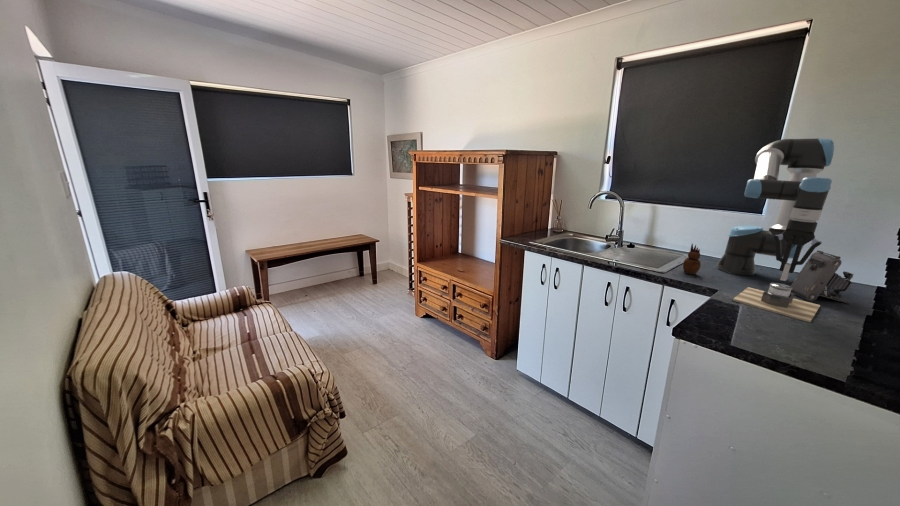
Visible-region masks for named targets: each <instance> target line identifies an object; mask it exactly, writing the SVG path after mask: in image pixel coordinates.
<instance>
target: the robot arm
mask: <svg viewBox="0 0 900 506" xmlns="http://www.w3.org/2000/svg"><path fill="white" fill-rule="evenodd" d="M834 144H835V142H834V140H832V139H829V138H819V137H817V138H784V139H783V138H782V139H779V140H778V139H777V140H775V141H773V142H770V143H768V144H766V145H765V146H763V147H762V148H760V150H759V151H758V152H757V153H756V156H755V158H754V163H755V164H756V167H755V172H754V176H753V178H751V179H748V180H747V182H746V187H745V188H744V189H745V190H744V192H743V193H744V194H743V195H744V197H746V198H753V199H765V200H778V201H779V200H780V201H781V203H780V206H779V210H778V212H777V216H776V220H775V223H774V224H773V225H771V226H769V228H768V230H764V227H763V226H760V225H759V226H758V225H757V226H756V225H737V226H736V225H735V226H733V227H732V228H731V230H730V233H729V235H728V240H727V243H726V246H725V251H724V254H723V255H722V257H721V258H720V259H719V261H718V262H717V264H716V269H718V270H720V271H723V272H725V273H729V274H735V275H740V276H753V275H755V273H756V264H755V257H756V255H757V254H758V255H765V256H771V257H775V259H776V261H777V262H778V261H779V262H780V263H781V264H780V267H779V271H780V272H782V274H781V276H780V279H779V280H780V281H783V282H786V281H788V278H789V274H793V273H794V272H795V269H796V266H803V264H804V263H806V262H807V261H808V259H809V258H810V256H811V255H812V254H813V253H814V251H815V249H816V248H818V247H819V246H820V245H821V244H822V243H823V242H822V241H820V240H819V239H816V234H815V232H816V229H817V227H818V221H819V220H820V217H821V215H822V211H823V209H824V205H825V203H826V200H827V198H828V196H829V195H828V194H829V192H830V190H831V185H832V183H833V180H832V179H831V178H829V177H817V176H818V174H819V173H822V172H823V171H824V170H825V168H827V167H829V166H831V164H832V160H833V158H834V151H835V145H834ZM781 166H786V167H787V168H786V170H787V171H788V172H789V177H788V179H787V180H780V179H779V174H780V167H781ZM810 242H811V243H810ZM807 243H810V245H811V246H810V247H809V248H808V249H807V251H806V252H805V254H804V255H803V256H802V258H801V259H800V260H799V258H800V255H801V252H802V250H803V248H804V246H805V245H806V244H807ZM789 259H791V263H790V262H788V261H789ZM804 265H805V264H804Z"/></svg>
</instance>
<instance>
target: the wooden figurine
mask: <svg viewBox="0 0 900 506" xmlns="http://www.w3.org/2000/svg"><path fill="white" fill-rule="evenodd" d="M689 250H690V251H689V252H688V254H687V258H685V259H684V261H683V264H682V268H683V272H684V273H687V274H688V273H689V275H695V274H697V273H698V272H699V271H700V269H701V264H702V263H701V260H699V259H700V258H701V253H700V252H701V251H700V248H699V247H697V244H695V246H694V244H693V243H691V246H690V249H689Z"/></svg>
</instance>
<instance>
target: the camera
mask: <svg viewBox="0 0 900 506" xmlns="http://www.w3.org/2000/svg"><path fill="white" fill-rule="evenodd" d="M842 263H843V261H842V260H841V256H837V255H835V254H831V253H828V252H824V251H823V250H816V252H812V253H811V254H810V256H809V257H808V258H807V260H806V261H805V264H804V265H803V267H802V268H801V270H800V271H799V273H798V274H797V276H796V277H795V279H794V281H792V283H791V285H790V286H791V287H792V288H793V289H792V290H791V293H794V294H795V295H794V296H797V297H800V298H802V299H804V300H806V301H807V302H814V301H816V300H817V299H818V297H819V296H821V297H823V298H827V299H831V300H834V301H836V302H837V301H838V302H841V303H845V304H847V305H850V302H848V301H846V300H844V299H841V297H842V295H841V294H840V293H841V292H846V291H847V290H848V289H849V288H851V285H852V284H854V283H853V282H852V281H851V280H852V279H853V276H854V275H855V273H851V272H849V271H843V272H842V273H843V277H842V276H841V275H839V273H837V271H838V269H839V268H840V267H841V265H842ZM827 290H829V293H828V291H827ZM830 290H831V291H830Z"/></svg>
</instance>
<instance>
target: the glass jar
mask: <svg viewBox="0 0 900 506" xmlns="http://www.w3.org/2000/svg"><path fill="white" fill-rule="evenodd" d="M792 289H793V288H792V287H791V285H787V284H785V283H779V282H770V283H769V291H768V292H770V293H772V294H775V295H779V296H786V297H789V295H790V292H791V290H792Z"/></svg>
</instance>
